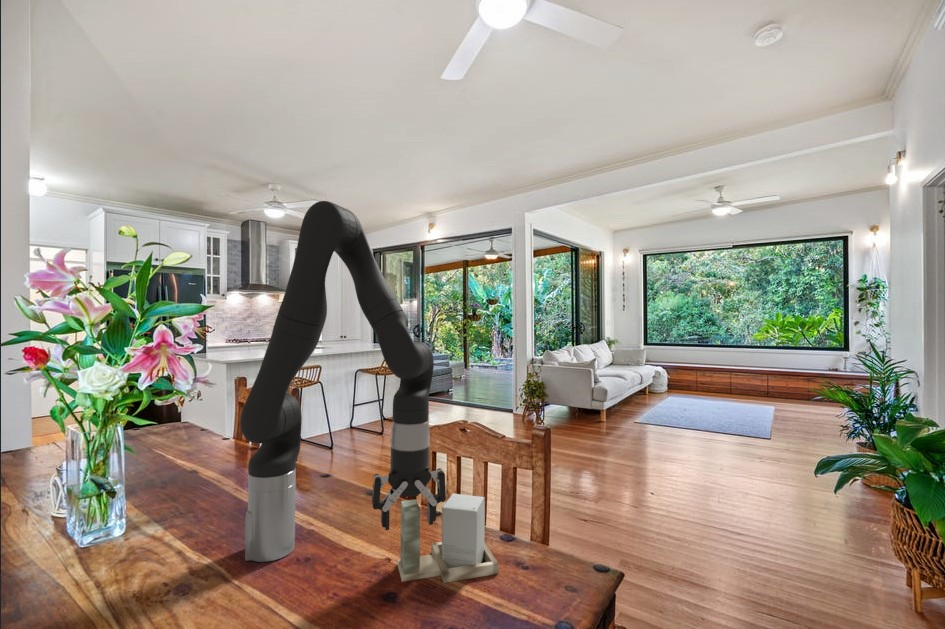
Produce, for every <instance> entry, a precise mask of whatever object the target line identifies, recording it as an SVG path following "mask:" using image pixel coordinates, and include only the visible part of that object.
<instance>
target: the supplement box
mask: <svg viewBox="0 0 945 629" xmlns="http://www.w3.org/2000/svg"><path fill="white" fill-rule="evenodd" d="M485 500H486V499H485V496H477V495H468V494H459V493H452V494H451V495H450V496H449V498H448V499H446V501H445V502H444V504H443V505H442V507H441V542H442V554H441V555H442V560H444V562H445V564H446V566H447V569H448V568H455V567H461V566H467V565H477V564H479V563H483V561H484V542H485V539H486V538H485V527H486V526H485V524H486V523H485V521H486V520H485V516H486V515H485V510H486V508H485V506H486V505H485V504H486V503H485Z"/></svg>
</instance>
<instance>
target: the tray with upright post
mask: <svg viewBox="0 0 945 629" xmlns="http://www.w3.org/2000/svg"><path fill="white" fill-rule="evenodd" d="M400 503H401V505H400V514H401V515H400V558H399V559H397V568H398V572H399V576H400V579H401V582H402V583H403V582H410V581H415V580H422V579H428V578H433V577H441V581H442V582H443V584H445V583H446V584H447V583H451V582H457V581H463V580H468V579H469V580H470V579H474V578H475V579H476V578H479V577H481V578H482V577H486V576H491V575H498V574H499V562H498V560H497V559H496V558H495V556H494V555H493V553H492V552H491V549H490V548H489V546H488V545H487V544H486V543H485V541H484V559H483V561H484V562H482V563H479V564H477V565H467V566H461V567H455V568H448V569H447V566H446V564H445V562H444V560H442V541H437V542H431V554H427V555H426V554H425V555H421V508H420V505H419V502H418V500H417V499H407V500H401V502H400Z"/></svg>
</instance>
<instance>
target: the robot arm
mask: <svg viewBox="0 0 945 629" xmlns="http://www.w3.org/2000/svg"><path fill="white" fill-rule="evenodd" d="M298 236H299V237H298V240H297V246H296V249H295V250H296V251H295V256H294V260H293V262H292V263H293V264H292V269H291V272H290V274H289V277H288V280H287V285H286V287H285V291H284V295H283V298H282V301H281V304H280V307H279V309H278V311H277V315H276V318H275V321H274V323H273V324H274V325H273V328H272V331H271V332H272V333H271V336H270V339H269V341H268V344H267V347H266V351H265V353H264V356H263V359H262V362H261V365H260V368H259V370H258V373H257V375H256V377H255V380H254V383H253V385H252V387H251V389H250V391H249V393H248V396H247V398H246V400H245V402H244V405H243V407H242V409H241V414H240V419H239V424H240V430H241V433H242V435H243V437H244V438H245V439H246V440H247V441H248V442H250V443H252V444H260V446H259V448H258V449H257V451H256V452H255V453H254V454H253V455H252V456H251V457H250V459H249V461H248V464H247V465H248V474H247V476H248V477H247V478H248V479H247V480H248V482H247V483H248V484H247V511H246V513H245V525H244V526H245V532H244V534H245V535H244V536H245V538H244V539H245V540H244V541H245V543H244V548H245V549H244V561H245V562H247V561H248V562H249V561H252V562H256V563H257V562H258V563H266V562H272V561H277V560H279V559H282V558H285V557H287V556H288V555H290V554H291V553H292V552H294V550H295V547H296V546H295V545H296V542H295V540H296V479H297V478H296V476H297V475H296V474H297V472H296V471H297V469H296V468H297V467H296V466H297V465H296V464H297V459H298V457H299V455H300V450H301V440H302V439H301V438H302V422H303V421H302V418H303V417H302V415H303V414H302V409H301V406H300V402H299V401H298V399H297V398H296V397H295V396H294V395H292V394H291V393H288V391H289V389H290V385H291V383H292V381H293V380H294V379H295V377H296V375H298V372H299V371H300V370H301V368H302V367H303V366H304V365H305V364H306V363H307V361H308V360H309V358H310V357H311V355H312V354H313V352H315V349H316V348H317V345H318V343H319V341H320V338H321V335H322V333H323V329H324V326H325V323H326V319H327V314H328V313H327V312H328V304H327V302H328V300H327V289H326V278H327V272H328V268H329V265H330V262H331V259H332V257H333V253H336V254H337V256H338V257H339V258H340V260H341V261H342V262H343V263H344V265H345V266H346V268H347V269H348V271H349V274H350V275H351V278H352V282H353V284H354V285H353V286H354V288H355V290H354V291H355V293H356V299H357V301H358V304H359V306H360V309H361V312H363V314H364V317H365V318H366V320H367V322H368V323H369V325H370V327H371V328H372V330H373V331H374V333H375V335H376V337H377V341H378V345H379V348H380V350H381V354H382V356H383V359H384V361H385V364H386V366H387V368H388V369H389V370H390V371H391V373H392V374H393V375H394V376H395V377H396V378H398V379H400V382H399V386H398V387H399V388H398V390H397V391H396V392H395V394H394V395H393V399H392V423H391V424H392V425H391V430H390V441H389V442H390V466H389V467H390V468H389V469H390V470H389V473H388V475H386V474H385V475H384V474H383V475H380V474H379V473H375V474H374V475H373V483H372V495H371V505H372V508H373V510H380V511H381V513H380V523H381V526H382V528H384V530H385V531H389V530H390V515H391V514H390V508H391V507H392V506H393V504H394V503H395V502H396V501H397V500H398V499H399V497H401V498H407V497H419V495H423V497H424V498H425V500H427V501H428V502H427V517H426V519H427V524H428V526H432V525H434V522H436V520H437V505H438V504H439V503H446V502H447V491H446V489H447V488H446V473H445V472H444V470H443V469H442V468H440V467H439V468H437V469H436V470H432V471H431V470H430V431H431V430H430V425H429V415H430V414H429V413H430V411H429V409H430V408H429V406H430V403H429V395H430V391H431V386H432V381H433V375H434V365H435V364H434V363H435V362H434V361H435V360H434V359H435V358H434V355H433V351H432V349H431V348H430V346H429V345H428V344H426V343H425V342H423V341H419V340H418V341H417V340H415V341H414V340H413V338H412V336H411V334H410V332H409V330H408V326H409V319H408V317H407V314H406V313H405V311H404V309H403V307H402V306H401V304H400V303H399V301H398V299H397V297H396V296H395V294H394V293H393V291H392V290H391V288H390V285H389V284H388V282H387V281H386V279H385V277H384V275H383V273H382V271H381V269H380V267H379V265H378V263H377V260H376V259H375V255H374V253H373V251H372V248H371V246H370V244H369V242H368V238H367V236H366V234H365V230H364V228H363V226H362V223H361V221H360V220H359V217H358V216H357V215H356V214H355V213H354V212H353V211H351V210H350V209H348V208H345V207H343V206H341V205H338V204H336V203H334V202H331V201H328V200H319V201H317V202H315V203H313V204H312V205H311V206H310V207H309V208H308V209H307V210H306V212H305V214H304V217H303V219H302V222H301V227H300V230H299V235H298ZM431 479H433V480H434V482H435V483H436V489H437V491H436V492H437V493H436V494H433V492H431V490H430V489H429V488H428V487H427V485H428V484H429V482H430V481H431ZM386 483H388V484H389V485H390V486H391V487H390V489H389V490H388V491H387V494H386V496H385V497H384V498H383V499H382V500H381V489H383V488H384V487H385V484H386Z"/></svg>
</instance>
